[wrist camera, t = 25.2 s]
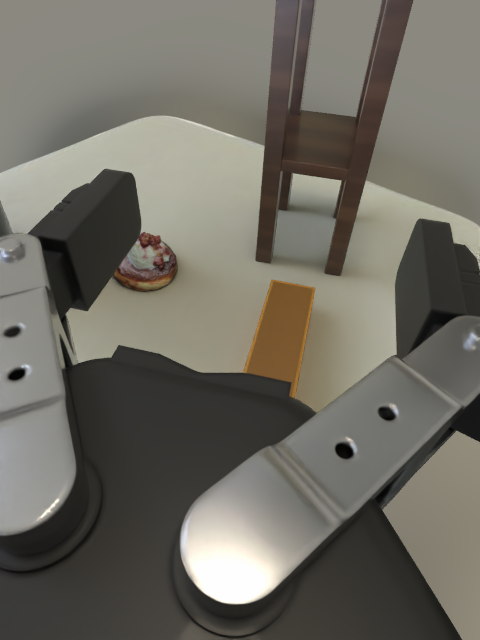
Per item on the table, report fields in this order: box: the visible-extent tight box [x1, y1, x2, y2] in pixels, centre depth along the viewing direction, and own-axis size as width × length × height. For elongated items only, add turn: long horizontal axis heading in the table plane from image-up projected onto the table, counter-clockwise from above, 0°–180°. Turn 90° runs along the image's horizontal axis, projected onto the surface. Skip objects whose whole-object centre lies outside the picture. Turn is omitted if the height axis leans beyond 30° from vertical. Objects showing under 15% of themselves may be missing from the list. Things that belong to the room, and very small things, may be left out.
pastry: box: [113, 232, 177, 291], centre depth 47 cm, size 8×8×5 cm
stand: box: [256, 0, 413, 276], centre depth 43 cm, size 14×10×32 cm
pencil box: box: [243, 280, 315, 398], centre depth 37 cm, size 22×4×3 cm, turn 166°
